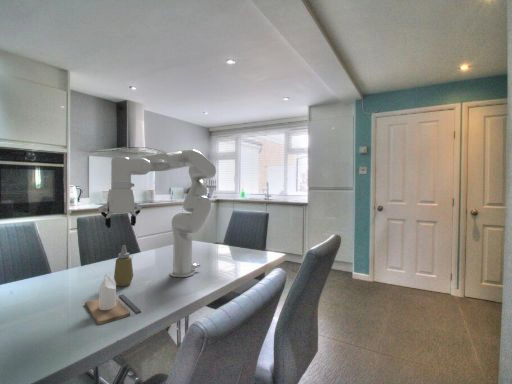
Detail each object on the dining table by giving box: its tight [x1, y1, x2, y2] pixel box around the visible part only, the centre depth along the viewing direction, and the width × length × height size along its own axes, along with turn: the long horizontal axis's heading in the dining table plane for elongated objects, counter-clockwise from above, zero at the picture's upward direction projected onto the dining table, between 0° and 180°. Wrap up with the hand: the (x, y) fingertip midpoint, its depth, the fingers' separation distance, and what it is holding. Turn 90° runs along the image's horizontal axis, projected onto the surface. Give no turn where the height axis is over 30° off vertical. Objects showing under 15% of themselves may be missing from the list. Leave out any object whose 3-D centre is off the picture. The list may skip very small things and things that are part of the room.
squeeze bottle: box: [113, 245, 134, 287], centre depth 128 cm, size 8×8×18 cm
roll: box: [98, 274, 117, 310], centre depth 103 cm, size 6×12×6 cm
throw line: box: [118, 294, 142, 314], centre depth 108 cm, size 2×20×1 cm, turn 42°
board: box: [84, 298, 131, 325], centre depth 103 cm, size 10×20×1 cm, turn 42°
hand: (121, 226), depth 118 cm, fingers open, 9 cm apart
